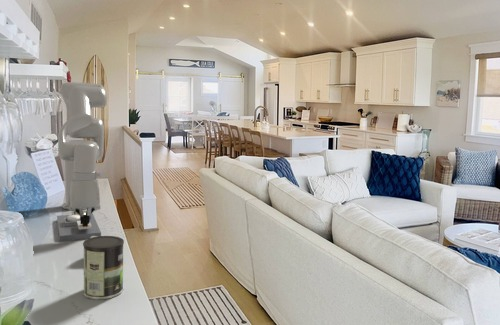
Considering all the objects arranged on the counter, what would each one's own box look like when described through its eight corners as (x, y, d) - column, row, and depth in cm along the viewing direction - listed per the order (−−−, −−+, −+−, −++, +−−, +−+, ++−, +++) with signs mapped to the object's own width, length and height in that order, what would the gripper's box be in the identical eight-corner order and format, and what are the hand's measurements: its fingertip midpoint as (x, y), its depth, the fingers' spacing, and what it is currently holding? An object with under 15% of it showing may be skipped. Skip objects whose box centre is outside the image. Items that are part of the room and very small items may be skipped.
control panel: (57, 220, 176) (57, 211, 176) (92, 218, 183) (92, 209, 182) (59, 241, 152) (59, 231, 151) (101, 237, 158) (101, 227, 157)
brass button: (74, 215, 177) (74, 211, 177) (86, 214, 179) (86, 211, 179) (75, 218, 173) (75, 214, 172) (87, 217, 175) (87, 213, 174)
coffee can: (123, 282, 121) (123, 234, 119) (123, 298, 112) (123, 246, 110) (84, 284, 118) (84, 236, 116) (81, 301, 109) (81, 248, 107)
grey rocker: (76, 223, 162) (76, 220, 162) (89, 222, 164) (89, 219, 164) (78, 229, 154) (78, 226, 154) (91, 228, 156) (91, 225, 156)
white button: (67, 219, 167) (67, 215, 167) (79, 218, 169) (79, 214, 169) (67, 222, 163) (67, 218, 163) (80, 221, 165) (80, 217, 165)
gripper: (105, 174, 160) (104, 221, 162) (62, 175, 154) (62, 224, 156) (107, 177, 154) (107, 226, 156) (63, 178, 147) (63, 230, 149)
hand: (85, 225), depth 156 cm, fingers closed
